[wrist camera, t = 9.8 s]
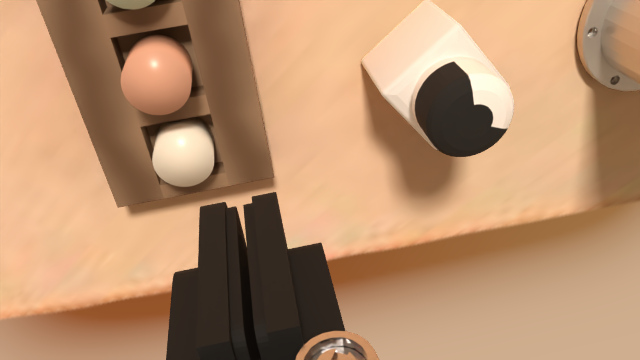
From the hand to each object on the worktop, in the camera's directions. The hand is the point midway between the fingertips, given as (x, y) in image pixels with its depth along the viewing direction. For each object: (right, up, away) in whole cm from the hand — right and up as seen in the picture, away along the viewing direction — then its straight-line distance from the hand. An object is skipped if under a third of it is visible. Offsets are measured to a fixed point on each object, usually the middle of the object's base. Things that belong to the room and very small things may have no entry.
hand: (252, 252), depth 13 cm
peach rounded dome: (-10, +10, +29) cm, 32 cm away
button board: (-11, +11, +31) cm, 34 cm away
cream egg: (-9, +5, +34) cm, 35 cm away
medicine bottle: (+10, +12, +34) cm, 37 cm away
